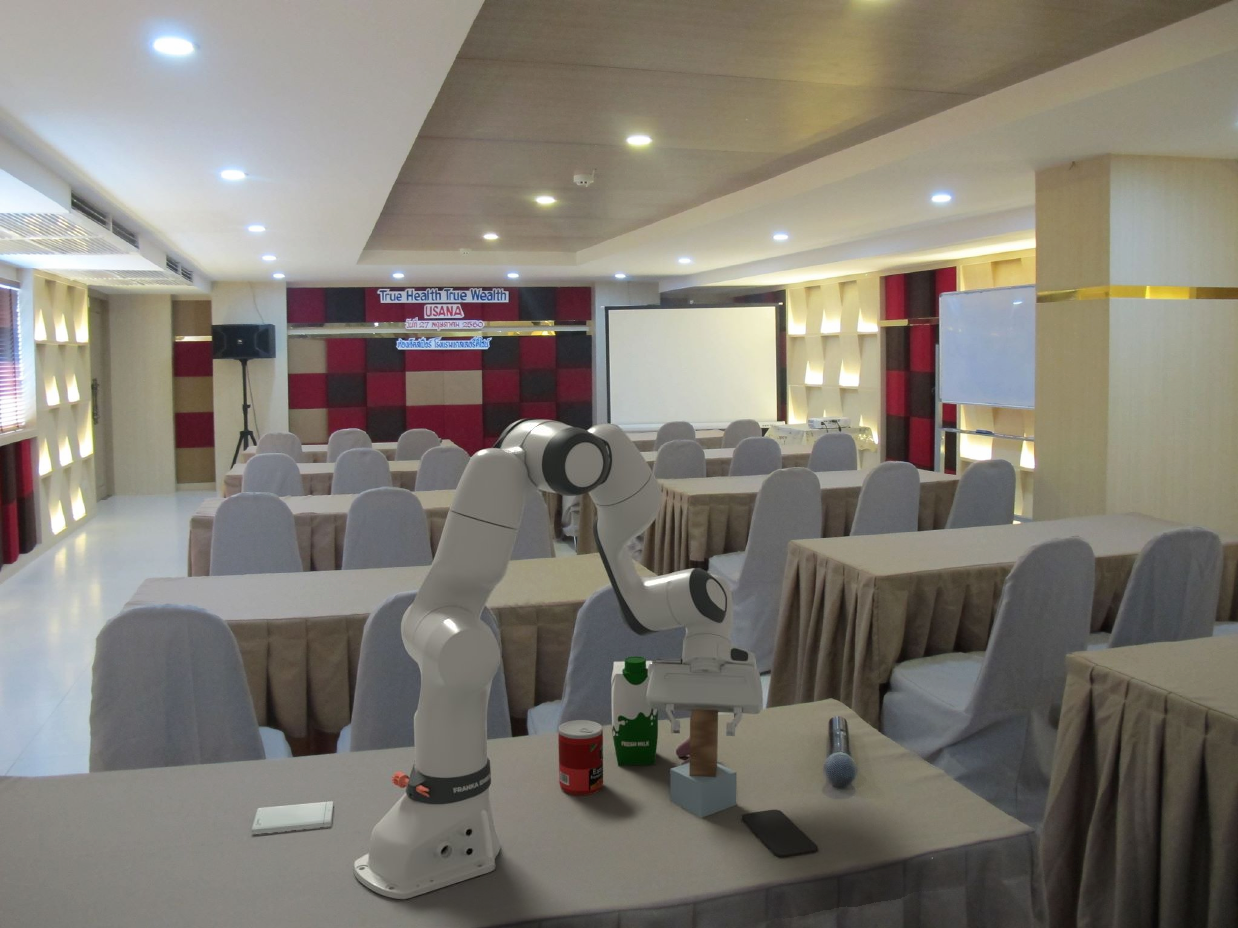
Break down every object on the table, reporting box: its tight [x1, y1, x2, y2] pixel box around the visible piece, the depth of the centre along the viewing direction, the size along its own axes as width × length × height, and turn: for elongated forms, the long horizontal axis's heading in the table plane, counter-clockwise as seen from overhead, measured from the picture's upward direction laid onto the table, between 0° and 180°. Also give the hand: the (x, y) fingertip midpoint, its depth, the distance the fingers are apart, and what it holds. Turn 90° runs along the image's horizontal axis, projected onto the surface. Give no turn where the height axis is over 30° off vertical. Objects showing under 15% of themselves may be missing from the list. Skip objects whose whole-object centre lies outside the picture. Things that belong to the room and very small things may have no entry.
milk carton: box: [610, 656, 659, 767], centre depth 193 cm, size 9×9×20 cm
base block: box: [669, 762, 737, 818], centre depth 174 cm, size 8×8×6 cm
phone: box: [740, 809, 819, 859], centre depth 163 cm, size 7×1×15 cm
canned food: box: [557, 719, 604, 796], centre depth 181 cm, size 8×8×11 cm
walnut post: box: [689, 709, 719, 777], centre depth 173 cm, size 4×4×10 cm
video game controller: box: [675, 737, 690, 766], centre depth 190 cm, size 10×5×7 cm, turn 1°
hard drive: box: [251, 801, 335, 835], centre depth 169 cm, size 2×8×12 cm
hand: (702, 733), depth 172 cm, fingers open, 8 cm apart
